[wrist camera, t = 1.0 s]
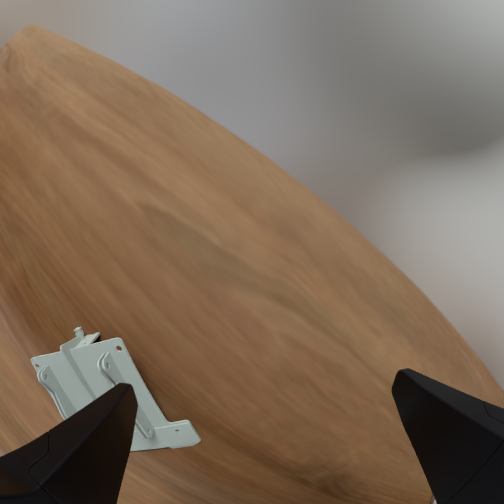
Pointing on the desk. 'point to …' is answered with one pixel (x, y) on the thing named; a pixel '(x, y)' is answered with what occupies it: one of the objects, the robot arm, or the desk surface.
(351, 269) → the desk surface
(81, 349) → the metal bracket
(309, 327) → the desk surface
